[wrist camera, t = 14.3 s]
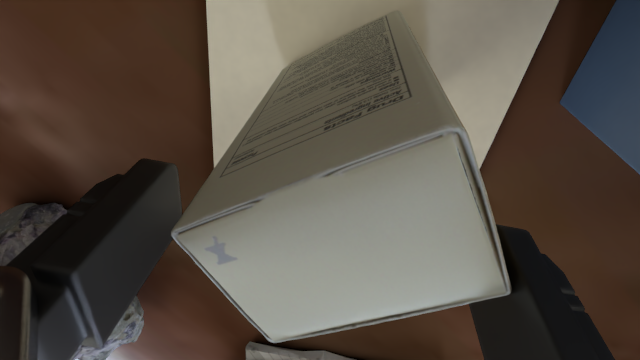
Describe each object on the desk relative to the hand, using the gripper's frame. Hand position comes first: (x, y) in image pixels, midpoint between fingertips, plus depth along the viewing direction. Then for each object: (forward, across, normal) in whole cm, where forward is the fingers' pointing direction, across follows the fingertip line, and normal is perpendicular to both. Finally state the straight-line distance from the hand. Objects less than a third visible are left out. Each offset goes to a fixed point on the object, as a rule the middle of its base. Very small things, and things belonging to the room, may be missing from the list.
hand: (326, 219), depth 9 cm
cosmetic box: (+10, 0, 0) cm, 10 cm away
